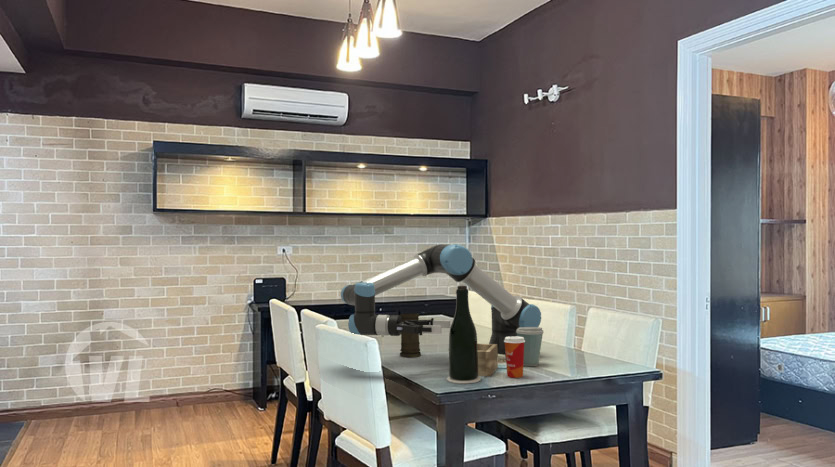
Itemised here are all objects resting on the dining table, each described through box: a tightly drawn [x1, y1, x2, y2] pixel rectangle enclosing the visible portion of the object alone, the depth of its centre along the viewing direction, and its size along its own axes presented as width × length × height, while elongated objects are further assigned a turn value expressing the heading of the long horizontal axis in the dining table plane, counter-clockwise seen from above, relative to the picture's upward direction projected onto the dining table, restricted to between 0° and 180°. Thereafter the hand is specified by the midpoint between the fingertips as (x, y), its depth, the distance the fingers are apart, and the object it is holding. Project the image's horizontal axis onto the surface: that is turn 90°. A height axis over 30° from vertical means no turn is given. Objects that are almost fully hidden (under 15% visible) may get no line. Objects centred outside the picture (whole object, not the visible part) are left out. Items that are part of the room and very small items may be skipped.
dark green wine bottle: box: [448, 284, 478, 380], centre depth 228 cm, size 10×10×33 cm
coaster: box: [446, 376, 482, 385], centre depth 228 cm, size 12×12×1 cm
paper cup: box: [504, 336, 525, 379], centre depth 232 cm, size 8×8×14 cm
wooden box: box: [477, 343, 499, 377], centre depth 242 cm, size 15×16×9 cm
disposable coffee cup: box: [516, 327, 544, 367], centre depth 252 cm, size 11×11×15 cm
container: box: [399, 312, 422, 358], centre depth 275 cm, size 9×9×18 cm
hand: (445, 327), depth 230 cm, fingers open, 13 cm apart
